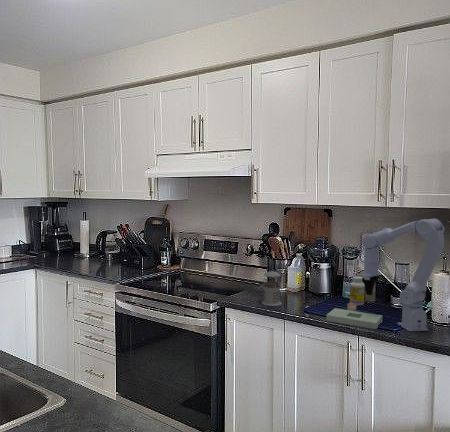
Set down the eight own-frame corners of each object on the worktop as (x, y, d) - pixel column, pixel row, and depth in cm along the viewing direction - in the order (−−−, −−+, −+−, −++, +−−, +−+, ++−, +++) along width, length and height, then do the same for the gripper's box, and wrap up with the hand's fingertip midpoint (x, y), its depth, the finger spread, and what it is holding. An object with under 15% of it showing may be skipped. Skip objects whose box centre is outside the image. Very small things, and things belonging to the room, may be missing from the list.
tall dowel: (376, 301, 183) (377, 282, 183) (367, 301, 183) (368, 283, 182) (372, 299, 187) (373, 280, 187) (363, 299, 187) (364, 281, 186)
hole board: (382, 321, 178) (382, 315, 178) (375, 329, 168) (376, 323, 168) (334, 313, 189) (335, 308, 189) (326, 320, 178) (326, 314, 178)
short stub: (357, 314, 188) (358, 305, 188) (348, 314, 188) (349, 305, 187) (354, 311, 192) (354, 303, 192) (345, 312, 192) (345, 303, 191)
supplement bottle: (346, 302, 207) (347, 276, 207) (358, 301, 210) (358, 275, 209) (355, 306, 201) (356, 279, 200) (367, 305, 203) (367, 278, 203)
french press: (258, 304, 204) (259, 251, 202) (267, 298, 214) (268, 248, 212) (277, 306, 199) (278, 253, 197) (286, 301, 209) (287, 250, 208)
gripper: (365, 259, 192) (365, 289, 193) (357, 263, 180) (356, 295, 181) (382, 260, 189) (381, 291, 189) (374, 265, 176) (373, 298, 177)
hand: (370, 293), depth 185 cm, fingers closed on tall dowel, 4 cm apart
